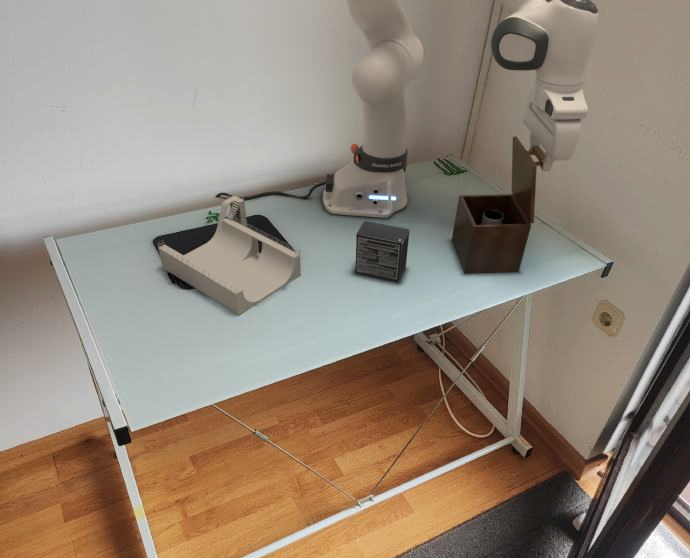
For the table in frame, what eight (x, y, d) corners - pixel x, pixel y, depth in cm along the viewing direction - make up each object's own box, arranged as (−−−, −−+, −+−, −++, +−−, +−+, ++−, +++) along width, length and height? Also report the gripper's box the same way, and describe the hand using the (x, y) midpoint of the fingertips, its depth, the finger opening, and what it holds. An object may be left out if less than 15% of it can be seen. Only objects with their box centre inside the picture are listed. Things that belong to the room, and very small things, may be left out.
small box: (407, 267, 132) (411, 227, 125) (399, 284, 128) (403, 243, 121) (362, 258, 135) (364, 218, 128) (353, 274, 130) (355, 233, 123)
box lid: (532, 165, 114) (558, 160, 114) (512, 136, 124) (536, 131, 124) (530, 223, 123) (553, 219, 123) (511, 192, 133) (533, 188, 133)
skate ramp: (163, 268, 131) (153, 229, 124) (238, 227, 144) (233, 190, 137) (239, 315, 119) (233, 275, 112) (313, 266, 132) (312, 228, 125)
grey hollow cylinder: (490, 260, 134) (499, 221, 127) (472, 254, 135) (480, 215, 128) (497, 251, 137) (507, 212, 130) (479, 245, 138) (487, 207, 131)
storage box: (464, 274, 131) (473, 226, 123) (451, 241, 141) (459, 195, 133) (518, 272, 132) (531, 225, 124) (502, 239, 142) (512, 193, 134)
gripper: (523, 75, 119) (510, 141, 128) (558, 114, 104) (540, 185, 114) (553, 75, 119) (538, 140, 129) (592, 113, 105) (571, 184, 114)
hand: (539, 161), depth 121 cm, fingers closed on box lid, 6 cm apart
